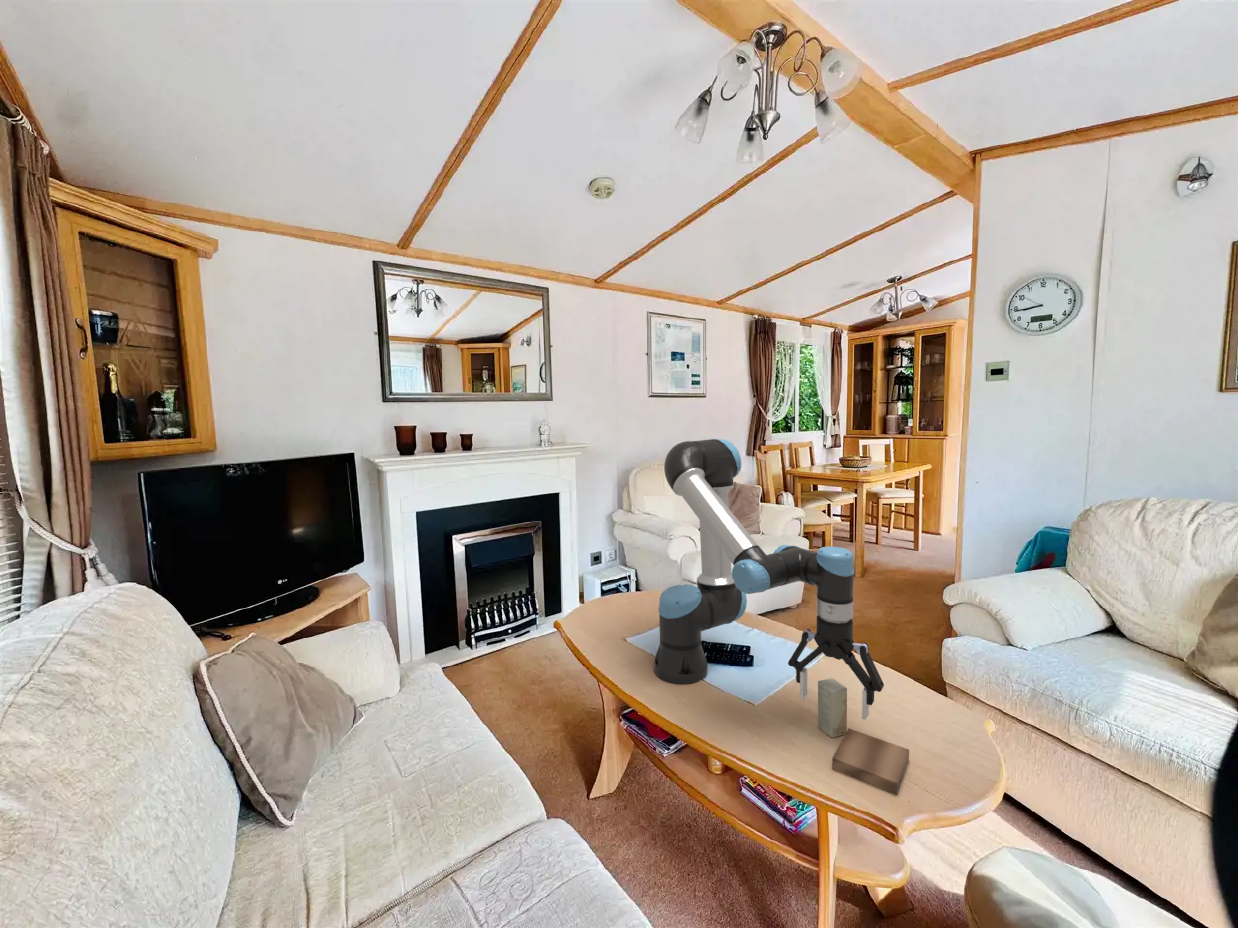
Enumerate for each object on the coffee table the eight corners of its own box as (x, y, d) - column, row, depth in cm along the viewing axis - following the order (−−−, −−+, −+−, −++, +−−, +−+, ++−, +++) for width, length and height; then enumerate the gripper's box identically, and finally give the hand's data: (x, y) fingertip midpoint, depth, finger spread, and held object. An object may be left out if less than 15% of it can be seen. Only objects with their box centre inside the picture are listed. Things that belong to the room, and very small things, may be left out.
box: (847, 734, 118) (848, 688, 116) (831, 738, 116) (832, 692, 115) (831, 720, 123) (832, 676, 121) (816, 724, 121) (817, 680, 120)
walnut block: (832, 771, 107) (832, 757, 107) (848, 740, 116) (848, 728, 116) (896, 797, 99) (897, 783, 99) (908, 762, 109) (909, 749, 108)
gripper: (774, 609, 121) (774, 695, 123) (892, 637, 105) (890, 734, 108) (786, 600, 127) (786, 682, 129) (900, 624, 111) (897, 717, 113)
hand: (833, 706), depth 118 cm, fingers open, 13 cm apart
